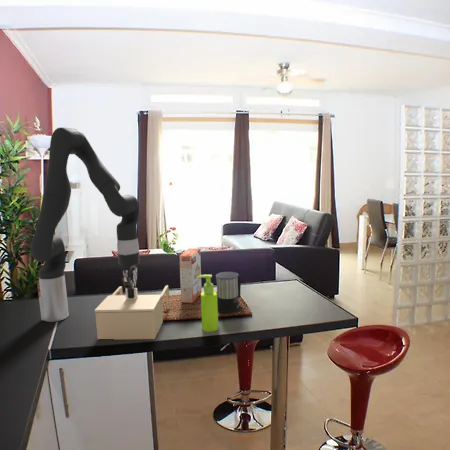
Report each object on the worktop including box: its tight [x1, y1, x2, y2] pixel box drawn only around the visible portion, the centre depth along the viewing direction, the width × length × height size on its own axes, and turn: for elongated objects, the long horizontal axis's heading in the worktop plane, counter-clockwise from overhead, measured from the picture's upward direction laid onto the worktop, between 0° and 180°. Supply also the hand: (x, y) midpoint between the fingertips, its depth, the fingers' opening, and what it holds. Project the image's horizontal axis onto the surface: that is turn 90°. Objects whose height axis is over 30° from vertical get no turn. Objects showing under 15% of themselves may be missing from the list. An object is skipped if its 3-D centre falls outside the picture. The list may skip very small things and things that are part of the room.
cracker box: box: [179, 248, 202, 304], centre depth 173 cm, size 14×6×21 cm, turn 168°
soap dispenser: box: [197, 274, 219, 333], centre depth 141 cm, size 6×7×20 cm
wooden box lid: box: [94, 287, 163, 313], centre depth 142 cm, size 20×14×5 cm
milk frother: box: [215, 271, 242, 315], centre depth 162 cm, size 14×16×15 cm
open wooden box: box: [94, 284, 170, 341], centre depth 149 cm, size 20×28×10 cm
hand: (131, 297), depth 145 cm, fingers closed
